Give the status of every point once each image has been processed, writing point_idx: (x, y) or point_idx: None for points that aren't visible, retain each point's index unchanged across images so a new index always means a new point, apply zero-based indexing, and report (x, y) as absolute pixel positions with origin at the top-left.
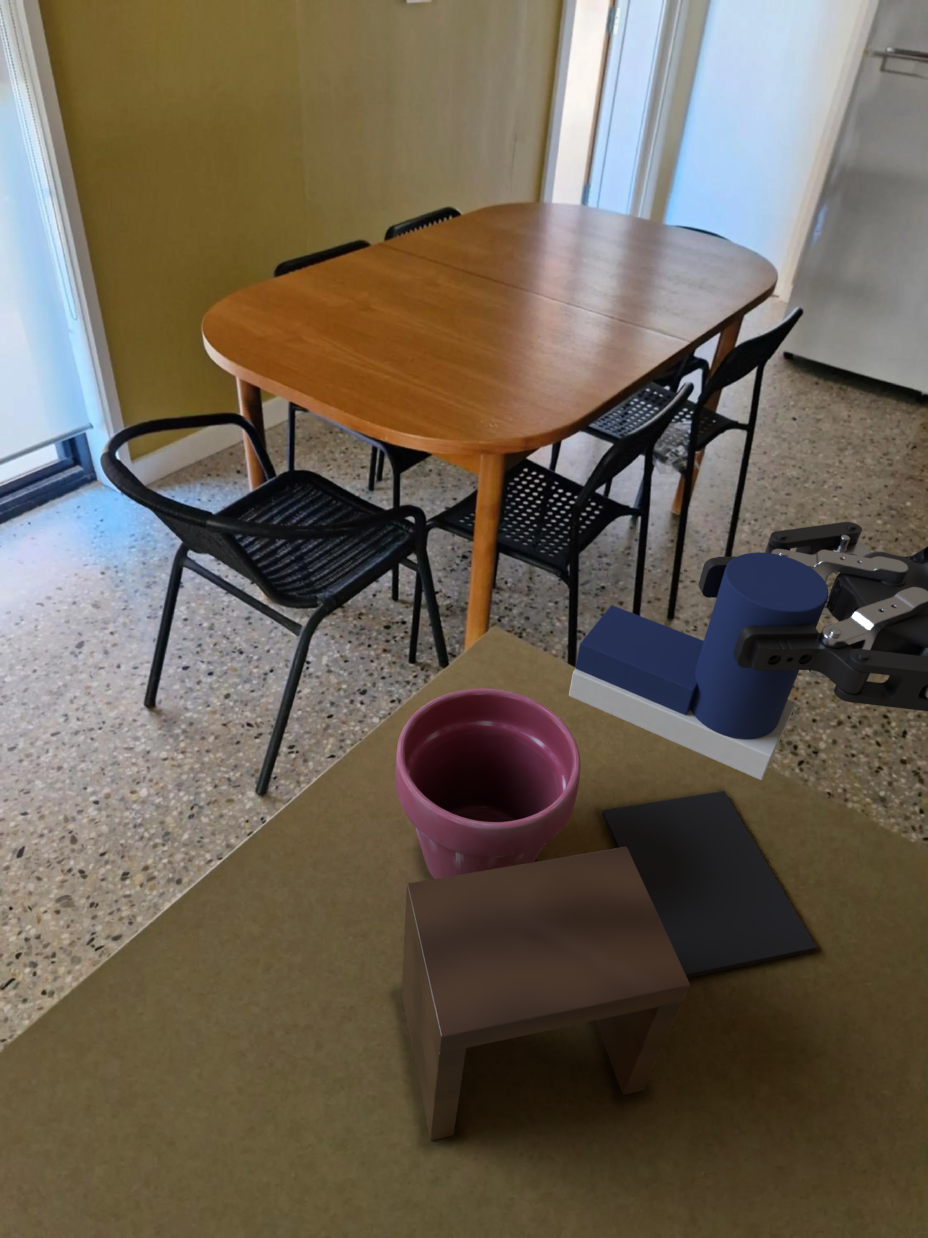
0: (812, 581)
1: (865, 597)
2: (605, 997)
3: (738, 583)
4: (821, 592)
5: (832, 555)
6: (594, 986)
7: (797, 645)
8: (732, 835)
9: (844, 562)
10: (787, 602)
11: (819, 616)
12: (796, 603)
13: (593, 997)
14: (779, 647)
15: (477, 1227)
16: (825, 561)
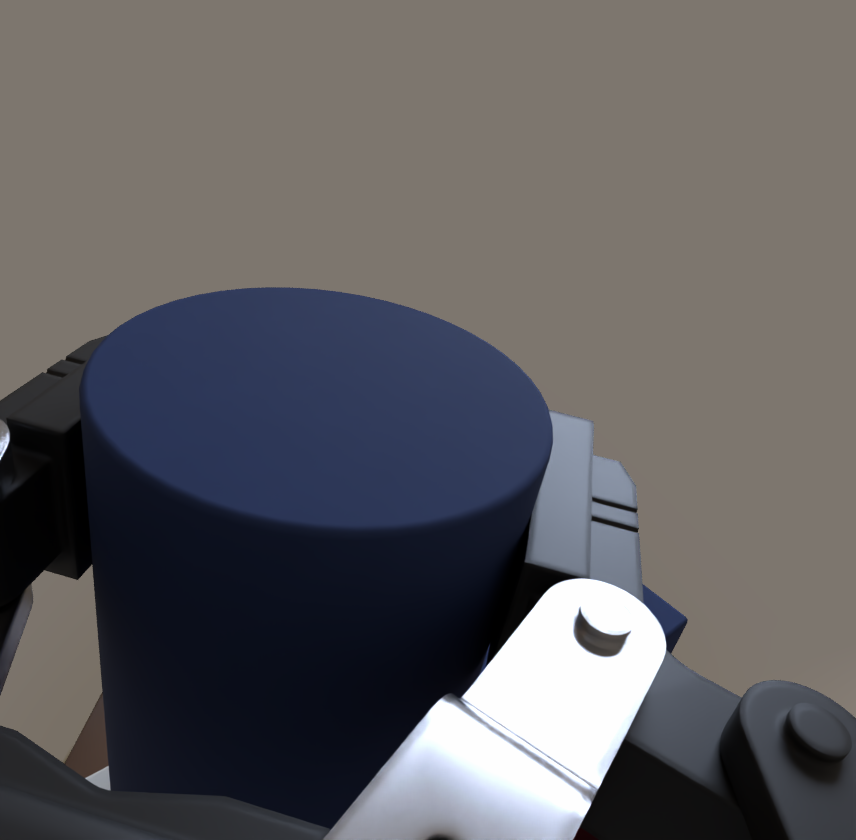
0: (254, 468)
1: (5, 818)
2: (78, 753)
3: (361, 305)
4: (150, 438)
5: (502, 808)
6: (103, 744)
7: (40, 387)
8: None
9: (384, 830)
10: (184, 334)
11: (90, 491)
12: (159, 348)
13: (90, 735)
14: (77, 353)
15: (65, 760)
16: (437, 702)
